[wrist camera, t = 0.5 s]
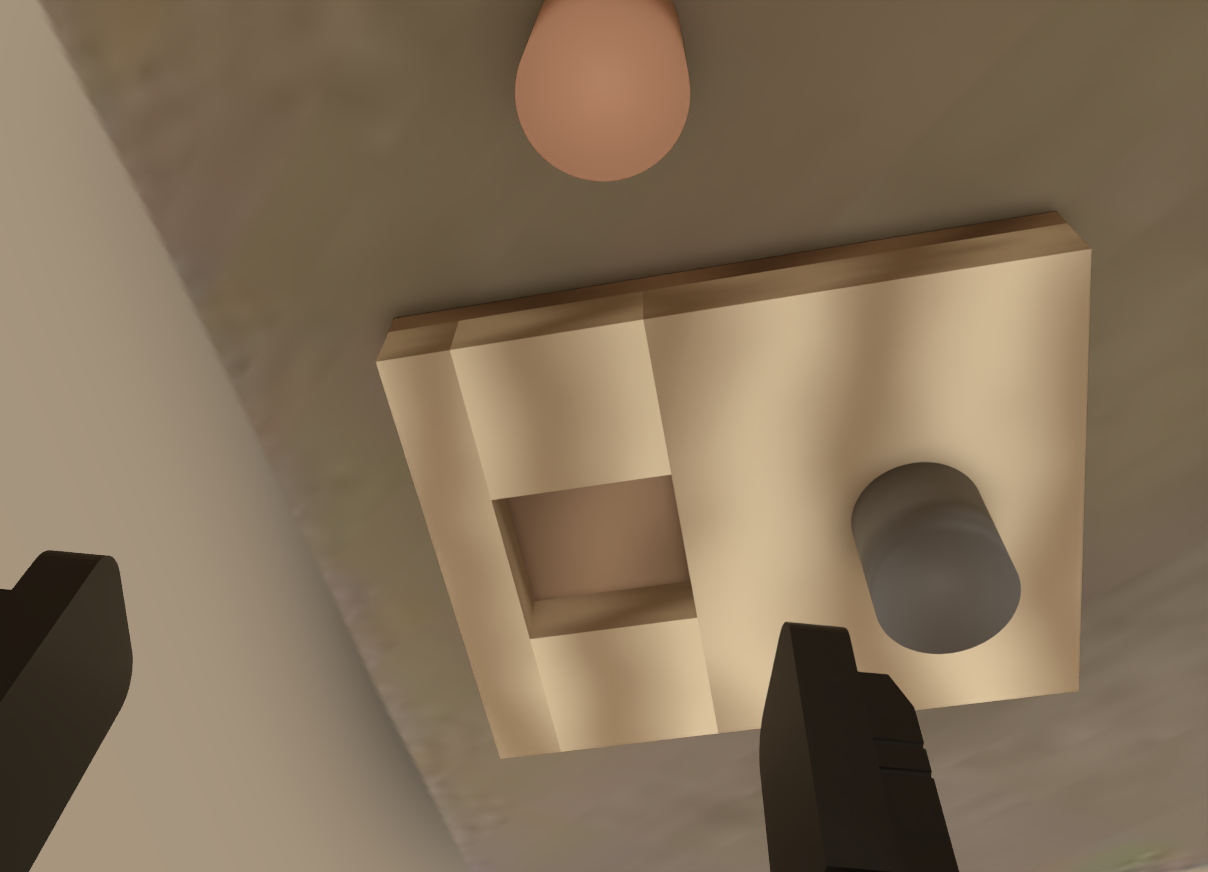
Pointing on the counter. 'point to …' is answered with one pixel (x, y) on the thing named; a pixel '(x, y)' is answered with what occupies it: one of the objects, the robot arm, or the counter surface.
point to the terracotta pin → (603, 86)
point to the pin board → (758, 479)
